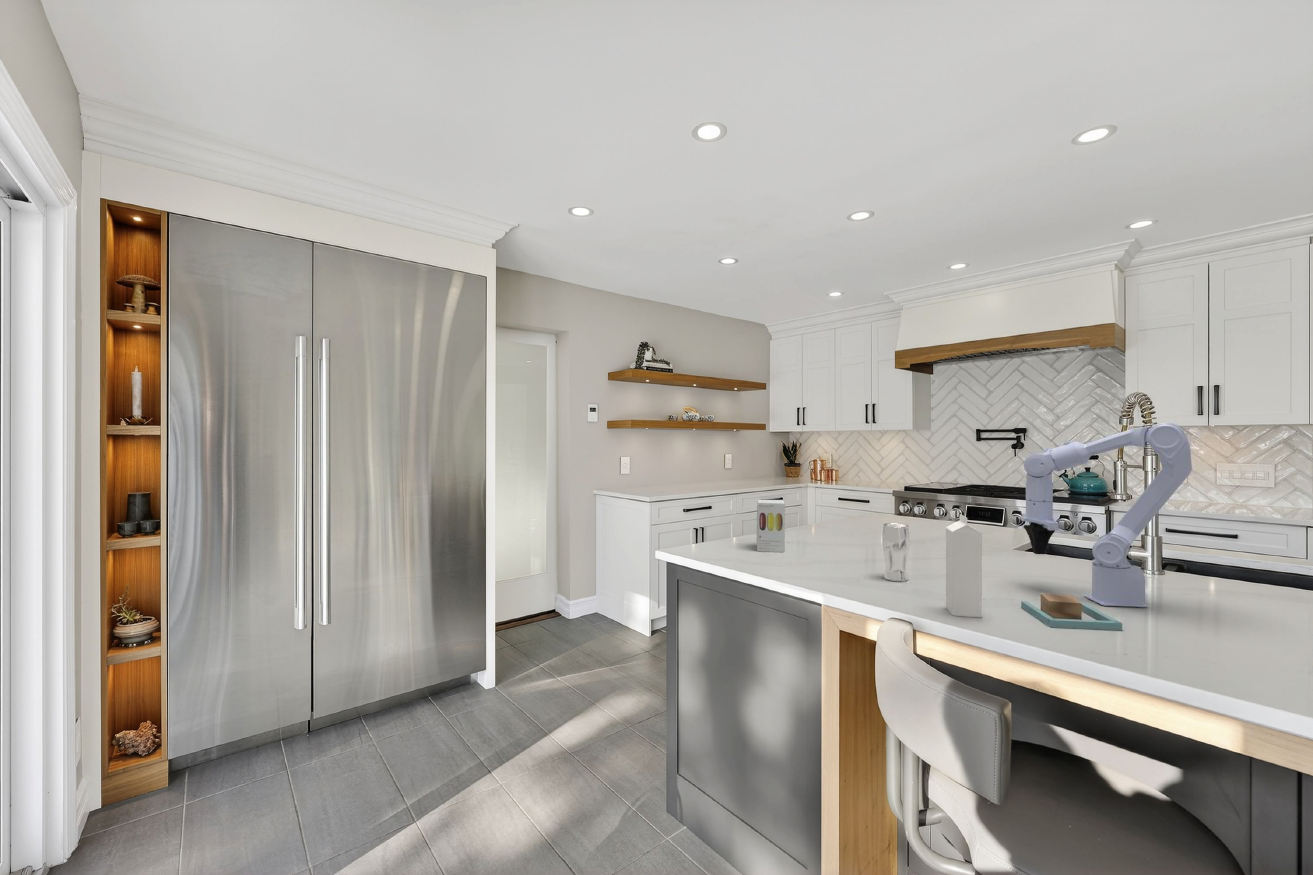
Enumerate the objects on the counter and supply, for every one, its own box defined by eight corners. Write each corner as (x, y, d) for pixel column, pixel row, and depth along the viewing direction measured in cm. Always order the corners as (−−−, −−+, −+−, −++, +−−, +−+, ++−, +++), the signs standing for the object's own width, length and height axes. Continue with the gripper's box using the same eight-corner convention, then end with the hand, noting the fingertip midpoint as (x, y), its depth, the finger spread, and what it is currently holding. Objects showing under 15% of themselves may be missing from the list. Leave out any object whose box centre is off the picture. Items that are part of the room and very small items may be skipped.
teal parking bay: (1085, 610, 130) (1085, 603, 130) (1122, 630, 117) (1122, 623, 117) (1021, 607, 133) (1021, 601, 133) (1050, 627, 120) (1050, 620, 120)
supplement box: (756, 551, 195) (756, 502, 195) (756, 546, 204) (756, 499, 204) (785, 552, 193) (785, 502, 193) (784, 546, 202) (783, 499, 202)
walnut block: (1071, 613, 129) (1071, 595, 129) (1081, 621, 123) (1081, 603, 123) (1040, 610, 131) (1040, 593, 131) (1049, 619, 125) (1049, 600, 125)
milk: (952, 616, 127) (951, 517, 127) (945, 607, 133) (944, 513, 133) (982, 617, 126) (982, 518, 126) (974, 609, 132) (973, 513, 131)
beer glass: (912, 582, 154) (912, 527, 154) (884, 581, 156) (884, 526, 156) (906, 576, 161) (906, 523, 161) (880, 575, 163) (880, 522, 162)
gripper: (1009, 496, 154) (1009, 547, 154) (1035, 504, 139) (1035, 559, 139) (1038, 497, 152) (1038, 548, 153) (1067, 504, 138) (1067, 560, 138)
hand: (1039, 553), depth 146 cm, fingers closed
